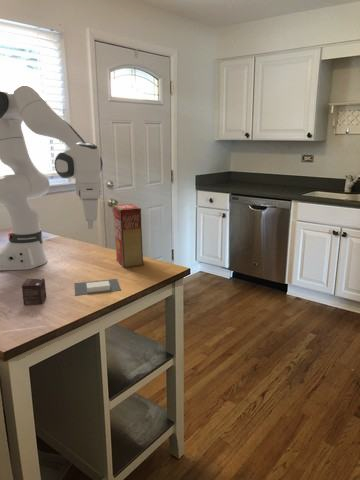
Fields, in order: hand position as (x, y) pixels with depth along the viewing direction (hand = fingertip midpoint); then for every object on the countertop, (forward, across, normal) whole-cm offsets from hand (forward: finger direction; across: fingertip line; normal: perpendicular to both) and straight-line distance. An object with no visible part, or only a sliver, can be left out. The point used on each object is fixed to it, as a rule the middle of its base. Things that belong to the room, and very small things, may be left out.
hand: (90, 227), depth 141 cm
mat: (+22, +5, +1) cm, 22 cm away
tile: (+20, +5, +2) cm, 21 cm away
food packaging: (+22, -21, +17) cm, 35 cm away
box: (+22, +12, -20) cm, 32 cm away
